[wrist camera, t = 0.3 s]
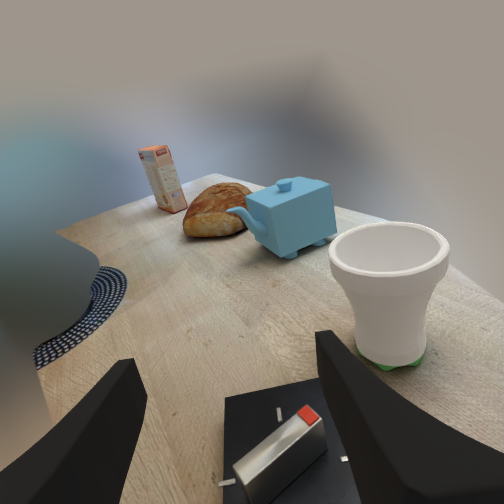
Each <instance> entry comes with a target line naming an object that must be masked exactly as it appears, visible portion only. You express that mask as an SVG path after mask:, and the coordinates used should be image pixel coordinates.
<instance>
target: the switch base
mask: <svg viewBox="0 0 504 504" xmlns="http://www.w3.org/2000/svg"><path fill="white" fill-rule="evenodd" d="M305 405H308V406H309V407H311V408H312V409H313V410H314V411H315V412H316V413H317V414H318V415H319V416H320V417H321V418H322V421H323V426H324V430H325V435H326V440H327V445H328V449H327V450H326V451H325V452H324V453H323V454H322V455H320V456H319V457H318V458H317V459H316V460H315V461H314V462H313V463H312V464H311V465H310V466H309V467H308V468H306V469H305V470H304V471H303V472H302V473H301V474H300V475H299V476H298V477H297V478H296V479H295V480H294V481H292V482H291V483H290V484H289V485H288V486H287V487H286V488H285V489H284V490H283V491H282V492H281V493H280V494H278V495H277V496H276V497H275V498H274V499H273V500H272V501H271V502H270V503H269V504H361V501H360V498H359V494H358V491H357V487H356V484H355V480H354V477H353V473H352V470H351V466H350V463H349V460H348V458H347V455H346V452H345V449H344V447H343V444H342V441H341V439H340V436H339V434H338V431H337V428H336V426H335V423H334V421H333V418H332V416H331V413H330V410H329V408H328V405H327V402H326V400H325V397H324V393H323V390H322V386H321V382H320V378H315V379H310V380H305V381H301V382H296V383H291V384H287V385H282V386H277V387H273V388H268V389H263V390H259V391H254V392H249V393H245V394H240V395H235V396H231V397H226V398H225V416H224V475H223V481H220V482H219V487H223V504H250V502H249V501H248V499H247V497H246V496H245V494H244V491H243V489H242V487H241V485H240V482H239V480H238V478H237V476H236V473H235V471H234V469H233V465H234V464H235V463H236V462H238V461H239V460H240V459H241V458H243V457H244V456H245V455H246V454H247V453H249V452H250V451H251V450H252V449H253V448H255V447H256V446H257V445H258V444H260V443H261V442H262V441H263V440H264V439H266V438H267V437H268V436H269V435H271V434H272V433H273V432H274V431H275V430H277V429H278V428H279V427H280V426H281V425H283V424H284V423H285V422H286V421H288V420H289V419H290V418H291V417H292V416H294V415H295V414H296V413H297V412H298V411H299V410H300V409H301V408H303V407H304V406H305Z"/></svg>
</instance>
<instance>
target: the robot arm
mask: <svg viewBox="0 0 504 504" xmlns="http://www.w3.org/2000/svg"><path fill="white" fill-rule="evenodd" d="M315 340H316V354H317V367H318V375H319V378H320V382H321V386H322V390H323V393H324V397H325V400H326V402H327V405H328V408H329V410H330V413H331V416H332V418H333V421H334V423H335V426H336V428H337V431H338V434H339V436H340V439H341V441H342V444H343V447H344V449H345V452H346V455H347V458H348V460H349V463H350V466H351V470H352V473H353V477H354V480H355V484H356V487H357V491H358V494H359V498H360V501H361V504H504V453H502V452H500V451H498V450H495V449H493V448H491V447H489V446H487V445H485V444H483V443H481V442H478V441H476V440H474V439H472V438H470V437H468V436H466V435H464V434H463V433H461V432H459V431H457V430H455V429H453V428H452V427H450V426H448V425H446V424H444V423H443V422H441V421H439V420H438V419H436V418H434V417H433V416H431V415H430V414H428V413H426V412H425V411H423V410H422V409H420V408H418V407H417V406H415V405H414V404H413V403H411V402H410V401H408V400H407V399H405V398H404V397H403V396H401V395H400V394H399V393H397V392H396V391H395V390H393V389H392V388H391V387H389V386H388V385H387V384H386V383H385V382H383V381H382V380H381V379H380V378H379V377H377V376H376V375H375V374H374V373H373V372H372V371H371V370H370V369H368V368H367V367H366V366H365V365H364V364H363V363H362V362H361V361H360V360H359V359H358V358H357V357H356V356H355V355H354V354H353V353H352V352H351V351H350V350H349V349H348V348H347V347H346V346H345V345H344V344H343V343H342V342H341V340H340V339H339V338H338V337H337V336H336V335H335V334H334V332H333V331H331V330H326V331H319V332H315ZM146 403H147V393H146V391H145V388H144V385H143V382H142V380H141V377H140V374H139V371H138V369H137V366H136V363H135V360H134V358H131V359H124V360H118V361H117V362H116V363H115V364H114V365H113V366H112V367H111V368H110V370H109V371H108V372H107V373H106V374H105V375H104V376H103V377H102V378H101V379H100V380H99V381H98V383H97V384H96V385H95V386H94V387H93V388H92V389H91V390H90V391H89V392H88V393H87V394H86V395H85V396H84V397H83V399H82V400H81V401H80V402H79V403H78V404H77V405H76V406H75V407H74V408H73V409H72V410H71V411H70V412H69V413H68V414H67V415H66V416H65V417H64V418H63V419H62V420H61V421H60V422H59V423H58V424H57V425H56V426H54V427H53V428H52V429H51V430H50V431H49V432H48V433H47V434H46V435H45V436H44V437H42V438H41V439H40V440H39V441H38V442H37V443H35V444H34V445H33V446H32V447H31V448H30V449H29V450H27V451H26V452H25V453H24V454H23V455H21V456H20V457H19V458H17V459H16V460H15V461H14V462H12V463H11V464H10V465H8V466H7V467H6V468H5V469H3V470H2V471H1V472H0V504H119V502H120V498H121V494H122V490H123V486H124V483H125V480H126V476H127V473H128V470H129V467H130V463H131V460H132V457H133V454H134V451H135V447H136V444H137V441H138V438H139V434H140V431H141V427H142V424H143V420H144V414H145V409H146Z"/></svg>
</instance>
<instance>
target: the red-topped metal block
mask: <svg viewBox="0 0 504 504" xmlns="http://www.w3.org/2000/svg"><path fill="white" fill-rule="evenodd" d="M327 449H328V445H327V440H326V435H325V430H324V426H323V421H322V418H321V417H320V416H319V415H318V414H317V413H316V412H315V411H314V410H313V409H312V408H311V407H309V406H308V405H305V406H304V407H303V408H301V409H300V410H299V411H298V412H297V413H296V414H295V415H294V416H292V417H291V418H290V419H289V420H288V421H286V422H285V423H284V424H283V425H281V426H280V427H279V428H278V429H277V430H275V431H274V432H273V433H272V434H271V435H269V436H268V437H267V438H266V439H264V440H263V441H262V442H261V443H260V444H258V445H257V446H256V447H255V448H253V449H252V450H251V451H250V452H249V453H247V454H246V455H245V456H244V457H243V458H241V459H240V460H239V461H238V462H236V463H235V464H234V465H233V469H234V471H235V473H236V476H237V478H238V480H239V482H240V485H241V487H242V489H243V491H244V494H245V496H246V497H247V499H248V501H249V502H250V504H269V503H270V502H271V501H272V500H273V499H274V498H275V497H276V496H277V495H278V494H280V493H281V492H282V491H283V490H284V489H285V488H286V487H287V486H288V485H289V484H290V483H291V482H292V481H294V480H295V479H296V478H297V477H298V476H299V475H300V474H301V473H302V472H303V471H304V470H305V469H306V468H308V467H309V466H310V465H311V464H312V463H313V462H314V461H315V460H316V459H317V458H318V457H319V456H320V455H322V454H323V453H324V452H325V451H326V450H327Z"/></svg>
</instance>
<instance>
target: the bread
mask: <svg viewBox="0 0 504 504" xmlns="http://www.w3.org/2000/svg"><path fill="white" fill-rule="evenodd" d="M252 193H253V192H251V191H250V190H249V189H248V188H247V187H245V186H243V185H241V184H239V183H220V184H216V185H213V186H211V187H209V188H207V189H206V190H204V191H203V192H202V193H201V194H200V195H199V196H198V197H197V198H196V199H194V200H193V202H192V203H191V204H190V206H189V208H188V210H187V212H186V215H185V217H184V219H183V230H184V233H185V234H186V235H188V236H190V237H215V236H226V235H230V234H234V233H236V232H238V231H240V230H243V229H246V228H247V226H246V224H245V223H244V221H243V219H242V218H241V217H240V216H239V215H238V214H236V213H232V212H226V210H228V209H231V208H234V207H243V208H245V209H246V210H247V211H248V208H247V204H246V200H245V196H247V195H249V194H252Z"/></svg>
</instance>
